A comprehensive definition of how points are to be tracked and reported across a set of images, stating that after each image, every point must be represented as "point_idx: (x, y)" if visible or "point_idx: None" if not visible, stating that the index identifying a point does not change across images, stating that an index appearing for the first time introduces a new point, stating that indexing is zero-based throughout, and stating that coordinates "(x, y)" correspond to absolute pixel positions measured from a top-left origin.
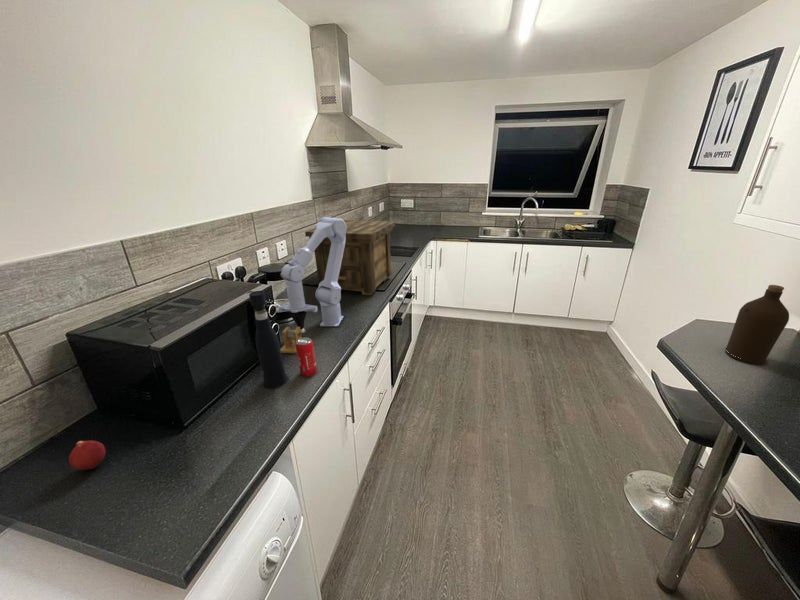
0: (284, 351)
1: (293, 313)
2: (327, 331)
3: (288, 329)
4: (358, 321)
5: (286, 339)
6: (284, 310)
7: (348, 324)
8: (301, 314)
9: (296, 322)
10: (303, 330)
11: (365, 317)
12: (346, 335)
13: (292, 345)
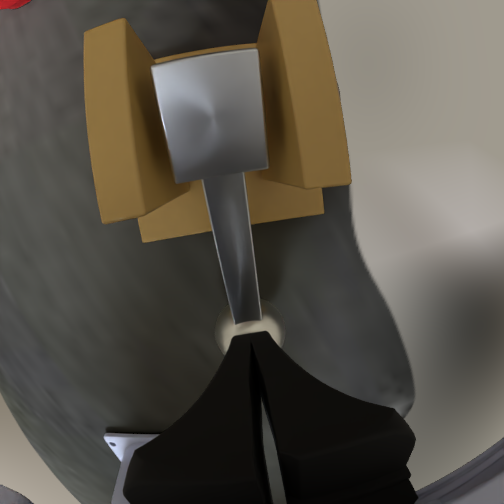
0: (252, 45)
1: (358, 481)
2: (121, 391)
3: (289, 127)
4: (65, 459)
5: None
6: (501, 450)
7: (79, 445)
8: (138, 489)
9: (286, 369)
10: (223, 333)
11: (68, 477)
12: (11, 355)
13: None
